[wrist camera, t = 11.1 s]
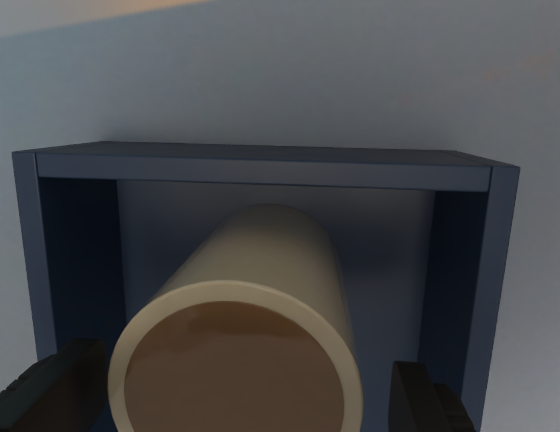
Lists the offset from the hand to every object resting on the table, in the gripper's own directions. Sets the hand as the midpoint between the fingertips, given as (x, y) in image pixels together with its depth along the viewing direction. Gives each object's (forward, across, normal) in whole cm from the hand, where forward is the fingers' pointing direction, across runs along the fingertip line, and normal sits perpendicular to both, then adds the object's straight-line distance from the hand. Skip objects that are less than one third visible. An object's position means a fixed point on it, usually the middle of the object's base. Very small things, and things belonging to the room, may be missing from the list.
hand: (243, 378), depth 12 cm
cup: (+8, 0, 0) cm, 8 cm away
